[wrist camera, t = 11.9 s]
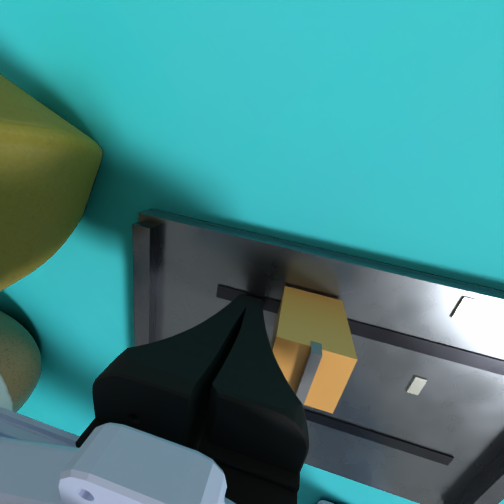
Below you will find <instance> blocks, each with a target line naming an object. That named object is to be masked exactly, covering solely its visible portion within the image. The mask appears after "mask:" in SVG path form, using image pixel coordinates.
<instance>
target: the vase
mask: <svg viewBox="0 0 504 504" xmlns="http://www.w3.org/2000/svg"><path fill="white" fill-rule="evenodd" d="M41 370H42V359H41V354H40V351H39V348H38V346H37V344H36V342H35V340H34V339H33V337H32V336H31V334H30V333H29V332H28V331H27V330H26V329H25V328H24V327H23V326H22V325H21V324H20V323H19V322H17V321H16V320H15V319H13V318H12V317H10V316H9V315H7V314H5V313H3V312H1V311H0V407H2V408H5V409H8V410H10V411H13V412H17V411H18V410H19V409H20V408H21V407H22V406H23V404H24V403H25V402H26V401H27V399H28V398H29V397H30V395H31V394H32V392H33V390H34V389H35V387H36V385H37V383H38V381H39V378H40V374H41Z"/></svg>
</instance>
